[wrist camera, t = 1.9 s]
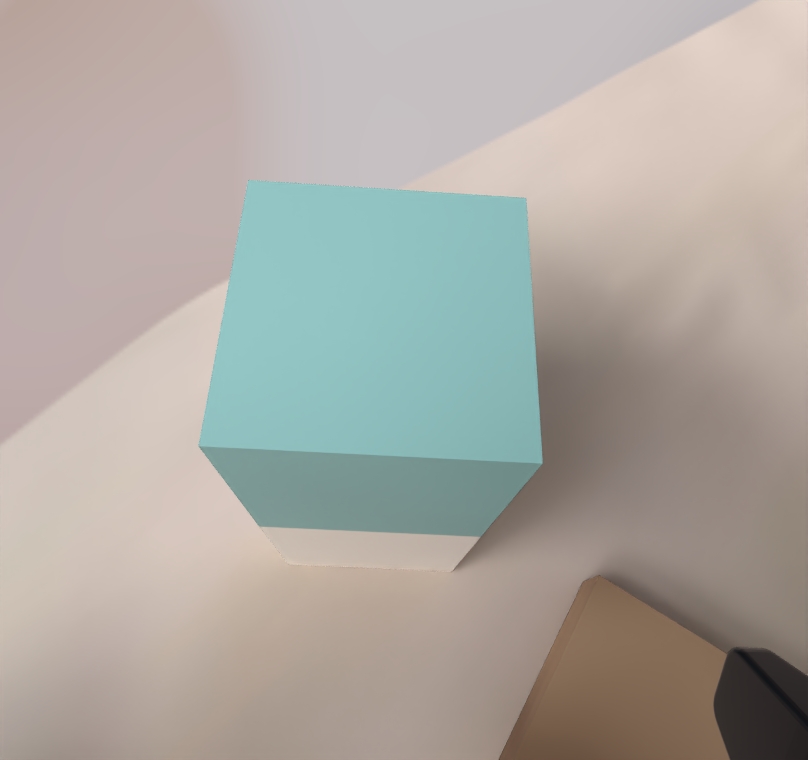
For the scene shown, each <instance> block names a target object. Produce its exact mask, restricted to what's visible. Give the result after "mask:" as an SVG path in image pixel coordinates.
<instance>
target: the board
mask: <svg viewBox="0 0 808 760" xmlns="http://www.w3.org/2000/svg"><path fill="white" fill-rule="evenodd" d="M726 656H727V654H726V653H725V652H723V651H722V650H720V649H718V648H717V647H715V646H714V645H712V644H710V643H709V642H707V641H705V640H704V639H702V638H701V637H699V636H697V635H696V634H694V633H692V632H691V631H689V630H688V629H686V628H684V627H683V626H681V625H679V624H678V623H676V622H675V621H673V620H671V619H670V618H668V617H666V616H665V615H663V614H662V613H660V612H658V611H657V610H655V609H653V608H652V607H650V606H649V605H647V604H645V603H644V602H642V601H640V600H639V599H637V598H636V597H634V596H632V595H631V594H629V593H628V592H626V591H624V590H623V589H621V588H619V587H618V586H616V585H615V584H613V583H611V582H610V581H608V580H606V579H605V578H603V577H602V576H600V575H599V576H596V577H594V578H591V579H589V580H587V581H584V582H583V583H582V585H581V587H580V589H579V591H578V594H577V596H576V598H575V600H574V602H573V604H572V606H571V608H570V610H569V612H568V615H567V617H566V619H565V621H564V623H563V625H562V627H561V629H560V631H559V634H558V636H557V638H556V640H555V642H554V644H553V646H552V648H551V650H550V653H549V655H548V657H547V659H546V661H545V663H544V665H543V667H542V669H541V671H540V674H539V676H538V678H537V680H536V682H535V684H534V686H533V688H532V690H531V693H530V695H529V697H528V699H527V701H526V703H525V705H524V707H523V709H522V712H521V714H520V716H519V718H518V720H517V722H516V724H515V726H514V728H513V731H512V733H511V735H510V737H509V739H508V741H507V743H506V745H505V747H504V749H503V752H502V754H501V756H500V758H499V760H730V759H729V756H728V753H727V750H726V747H725V745H724V742H723V739H722V736H721V733H720V730H719V728H718V725H717V722H716V719H715V714H714V707H713V702H714V695H715V691H716V688H717V685H718V682H719V678H720V675H721V672H722V669H723V665H724V662H725V659H726Z"/></svg>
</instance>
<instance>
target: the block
mask: <svg viewBox="0 0 808 760" xmlns="http://www.w3.org/2000/svg"><path fill="white" fill-rule="evenodd" d="M199 447H200V449H201V450H202V451H203V453H204V454H205V455H206V457H207V458H208V459H209V461H210V462H211V463H212V465H213V466H214V467H215V469H216V470H217V471H218V473H219V474H220V475H221V476H222V478H223V479H224V480H225V482H226V483H227V484H228V486H229V487H230V488H231V490H232V491H233V492H234V494H235V495H236V496H237V498H238V499H239V500H240V502H241V503H242V504H243V506H244V507H245V508H246V510H247V511H248V512H249V513H250V515H251V516H252V517H253V519H254V520H255V521H256V523H257V524H258V525H259V527H260V528H261V529H262V531H263V532H264V533H265V535H266V536H267V537H268V539H269V540H270V541H271V543H272V544H273V545H274V546H275V548H276V549H277V550H278V552H279V553H280V554H281V556H282V557H283V558H284V560H285V561H286V562H287V564H288V565H311V566H333V567H355V568H378V569H400V570H422V571H445V572H452V571H453V569H454V568H455V567H456V566H457V565H458V563H459V562H460V561H461V560H462V559H463V558H464V556H465V555H466V554H467V553H468V552H469V550H470V549H471V548H472V547H473V546H474V545H475V543H476V542H477V541H478V540H479V539H480V537H481V536H482V535H483V534H484V533H485V531H486V530H487V529H488V528H489V527H490V526H491V524H492V523H493V522H494V521H495V520H496V518H497V517H498V516H499V515H500V514H501V512H502V511H503V510H504V509H505V508H506V507H507V505H508V504H509V503H510V502H511V501H512V499H513V498H514V497H515V496H516V495H517V494H518V492H519V491H520V490H521V489H522V488H523V486H524V485H525V484H526V483H527V482H528V480H529V479H530V478H531V477H532V476H533V475H534V473H535V472H536V471H537V470H538V469H539V467H540V466H541V465H542V464H543V460H542V444H541V428H540V412H539V396H538V380H537V364H536V348H535V332H534V316H533V300H532V284H531V268H530V252H529V236H528V219H527V203H526V198H518V197H503V196H487V195H472V194H456V193H441V192H425V191H409V190H394V189H378V188H362V187H347V186H331V185H316V184H301V183H285V182H269V181H253V180H248V184H247V190H246V195H245V200H244V206H243V211H242V216H241V222H240V227H239V233H238V238H237V243H236V248H235V254H234V260H233V264H232V270H231V275H230V281H229V286H228V291H227V297H226V302H225V307H224V313H223V318H222V323H221V329H220V334H219V339H218V345H217V350H216V356H215V361H214V366H213V372H212V377H211V382H210V388H209V393H208V398H207V404H206V409H205V414H204V420H203V425H202V430H201V436H200V441H199Z"/></svg>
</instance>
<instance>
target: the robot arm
mask: <svg viewBox="0 0 808 760" xmlns="http://www.w3.org/2000/svg"><path fill="white" fill-rule="evenodd" d="M713 707H714V714H715V719H716V722H717V725H718V728H719V730H720V733H721V736H722V739H723V742H724V745H725V747H726V750H727V753H728V756H729V759H730V760H808V676H807V675H805V674H804V673H802V672H801V671H799V670H798V669H797V668H795V667H794V666H792V665H791V664H789V663H788V662H786V661H785V660H783V659H782V658H780V657H779V656H778V655H776V654H775V653H773V652H771V651H770V650H767V649H764V648H748V647H736V648H732V649H731V650H730V651H729V652H728V654H727V656H726V659H725V662H724V665H723V669H722V672H721V675H720V678H719V682H718V685H717V688H716V691H715V695H714V702H713Z"/></svg>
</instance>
